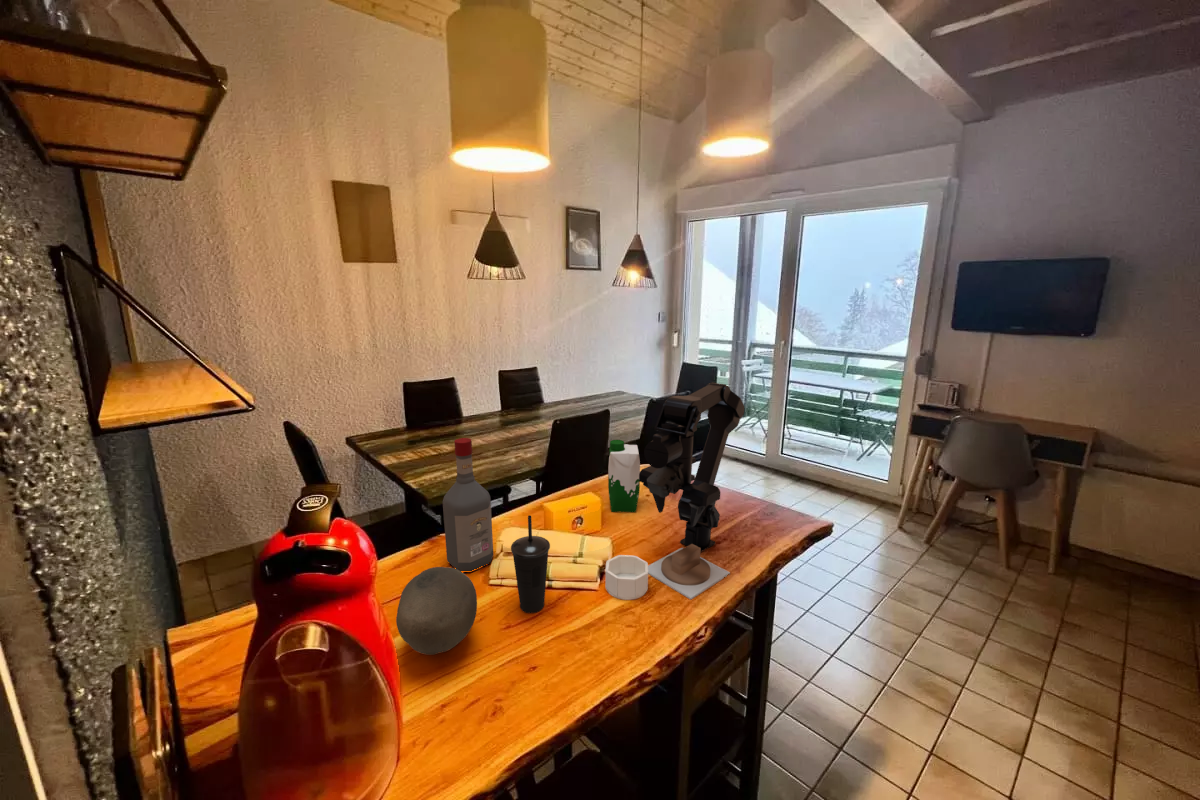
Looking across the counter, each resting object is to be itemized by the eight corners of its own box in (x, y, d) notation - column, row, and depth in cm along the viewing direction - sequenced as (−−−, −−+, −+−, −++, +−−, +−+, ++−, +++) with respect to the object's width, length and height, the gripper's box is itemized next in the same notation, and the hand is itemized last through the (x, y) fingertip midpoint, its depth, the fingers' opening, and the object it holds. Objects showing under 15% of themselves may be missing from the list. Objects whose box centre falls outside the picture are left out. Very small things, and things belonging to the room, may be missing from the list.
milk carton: (608, 500, 148) (608, 436, 143) (638, 500, 148) (639, 437, 143) (608, 513, 140) (608, 447, 135) (639, 514, 139) (641, 447, 135)
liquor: (498, 561, 116) (492, 440, 109) (463, 577, 110) (454, 450, 102) (477, 546, 122) (470, 431, 115) (443, 561, 116) (433, 440, 109)
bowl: (626, 570, 113) (627, 550, 112) (655, 588, 106) (656, 568, 105) (597, 585, 107) (597, 565, 106) (626, 606, 101) (626, 584, 99)
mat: (681, 548, 122) (681, 547, 121) (729, 574, 111) (730, 572, 111) (642, 570, 113) (642, 568, 113) (690, 599, 102) (690, 598, 102)
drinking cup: (557, 598, 103) (555, 510, 98) (541, 621, 96) (538, 528, 91) (524, 590, 105) (521, 504, 100) (506, 613, 98) (502, 521, 93)
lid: (682, 552, 119) (683, 533, 118) (720, 572, 111) (721, 552, 110) (651, 569, 112) (651, 549, 111) (689, 592, 104) (690, 571, 103)
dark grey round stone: (384, 650, 88) (375, 576, 84) (452, 611, 99) (447, 543, 95) (426, 692, 79) (419, 611, 76) (497, 644, 90) (493, 571, 86)
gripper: (623, 452, 109) (622, 516, 113) (692, 476, 96) (688, 548, 100) (655, 441, 116) (653, 501, 120) (723, 462, 103) (719, 529, 107)
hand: (676, 518), depth 112 cm, fingers open, 9 cm apart
